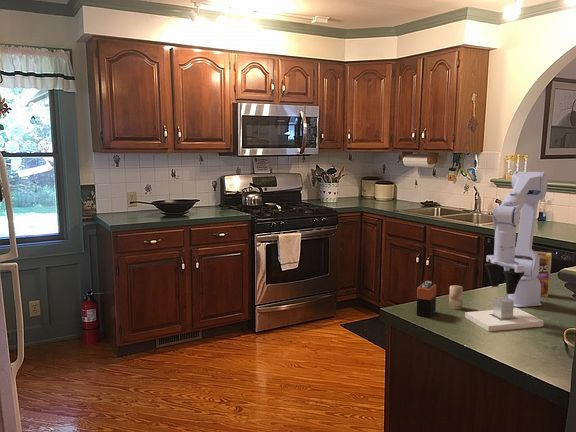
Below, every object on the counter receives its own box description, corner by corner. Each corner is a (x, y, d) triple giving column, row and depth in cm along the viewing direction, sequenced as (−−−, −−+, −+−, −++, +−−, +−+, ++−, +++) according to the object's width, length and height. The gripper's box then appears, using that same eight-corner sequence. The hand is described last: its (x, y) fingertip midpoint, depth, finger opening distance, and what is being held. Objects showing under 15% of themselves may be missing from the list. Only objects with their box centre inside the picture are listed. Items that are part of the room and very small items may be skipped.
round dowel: (457, 305, 164) (458, 284, 163) (464, 309, 160) (465, 288, 159) (446, 306, 163) (447, 285, 162) (453, 310, 159) (453, 289, 158)
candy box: (519, 293, 176) (522, 251, 174) (521, 290, 179) (524, 249, 177) (547, 297, 171) (550, 254, 169) (549, 294, 175) (552, 252, 172)
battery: (435, 311, 158) (436, 281, 156) (429, 318, 152) (430, 286, 151) (422, 309, 160) (423, 279, 159) (415, 315, 154) (416, 284, 153)
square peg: (504, 319, 151) (505, 296, 150) (512, 323, 147) (513, 300, 146) (492, 320, 150) (493, 297, 149) (500, 324, 146) (501, 301, 145)
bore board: (516, 312, 156) (516, 307, 156) (543, 326, 144) (543, 320, 144) (465, 317, 152) (465, 312, 152) (488, 331, 141) (488, 326, 140)
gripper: (478, 241, 153) (476, 284, 155) (508, 251, 139) (506, 298, 141) (498, 240, 154) (496, 282, 156) (530, 250, 140) (527, 296, 142)
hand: (502, 290), depth 149 cm, fingers open, 7 cm apart
